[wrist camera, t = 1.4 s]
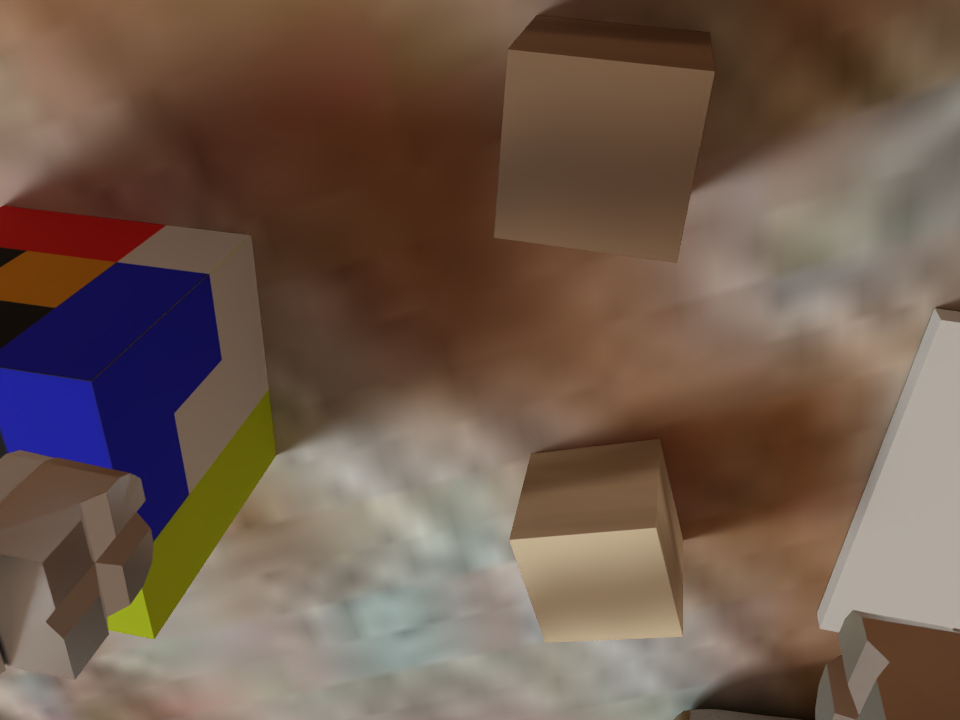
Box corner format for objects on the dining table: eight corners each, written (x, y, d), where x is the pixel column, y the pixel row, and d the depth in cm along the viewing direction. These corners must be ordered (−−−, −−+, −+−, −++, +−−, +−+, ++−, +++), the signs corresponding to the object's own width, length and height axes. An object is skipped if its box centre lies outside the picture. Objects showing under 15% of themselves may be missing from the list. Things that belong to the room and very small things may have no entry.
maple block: (531, 452, 33) (509, 539, 29) (659, 437, 32) (655, 527, 28) (561, 548, 36) (545, 642, 32) (683, 538, 34) (682, 636, 30)
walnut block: (536, 14, 25) (507, 49, 21) (709, 31, 24) (715, 71, 20) (522, 178, 28) (493, 237, 24) (677, 197, 27) (676, 262, 23)
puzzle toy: (251, 234, 31) (91, 381, 23) (277, 453, 36) (154, 639, 28) (4, 205, 32) (-233, 332, 24) (62, 419, 38) (-115, 585, 29)
